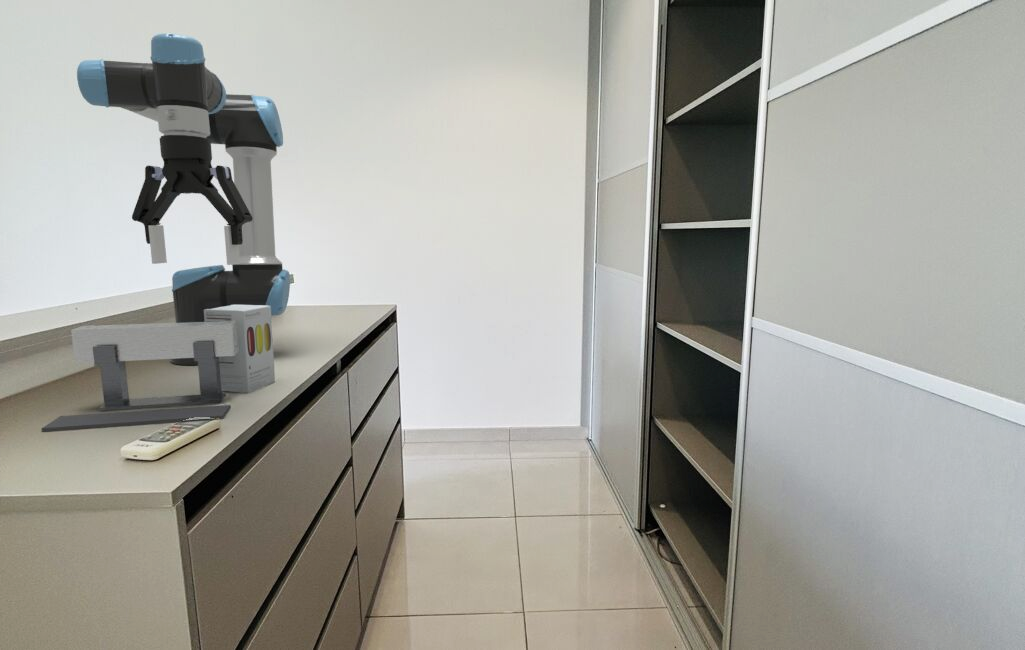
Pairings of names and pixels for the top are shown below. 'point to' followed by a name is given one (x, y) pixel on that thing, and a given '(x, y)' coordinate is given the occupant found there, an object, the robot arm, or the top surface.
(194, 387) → the top surface
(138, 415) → the mat
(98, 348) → the standards
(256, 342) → the supplement box
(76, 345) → the rail
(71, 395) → the top surface
